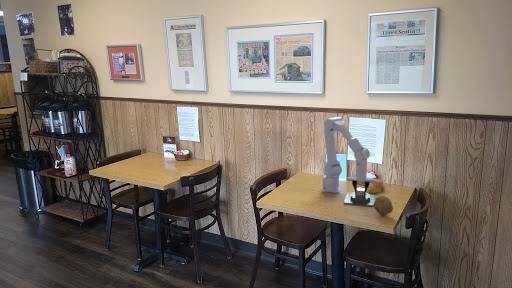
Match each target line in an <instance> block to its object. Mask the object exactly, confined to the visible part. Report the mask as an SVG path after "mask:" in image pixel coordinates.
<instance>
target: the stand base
mask: <svg viewBox="0 0 512 288" xmlns="http://www.w3.org/2000/svg"><path fill="white" fill-rule="evenodd" d="M376 199H377V195H376V194H368V193H366V195H364V197H361V196H359V197H356V194H355V191H353V192H347V193H346V195H345V198H344V202H343V205H350V206H360V207H369V208H374V202H375V200H376Z"/></svg>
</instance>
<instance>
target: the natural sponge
mask: <svg viewBox="0 0 512 288" xmlns="http://www.w3.org/2000/svg"><path fill="white" fill-rule="evenodd" d="M373 208H374V210H375V212H377V214H379V215H380V216H386V215H389V214H392V213H393V210H394V206H393V204H392V202H391V200H390V198H389V197H387V196H386V195H380V196H378V197H376V200H375V202H374V207H373Z"/></svg>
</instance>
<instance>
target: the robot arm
mask: <svg viewBox="0 0 512 288" xmlns="http://www.w3.org/2000/svg"><path fill="white" fill-rule="evenodd" d="M323 126H324V130H323V133H324V134H323V135H324V143H325V151H326V161H325V163H324V165H323V166H324V169H323V173H324V175H322V189H321V190H322V192H324V193H337V194H338V193H339V192H340V190H341V188H340V187H339V185H340V184H339V183H340V176H341V174H342V172H343V168H342V166H341V162H340V161H339V160H338V159H337V150H336V142H335V141H336V140H335V133H336V132H340V134H341V135H342V136H343V137H344V139H346V141H347V145H348V147H349V148H350V149H351V150H352V153H353V157H354V159H355V176H347V180H346V181H347V182H351V185H352V187H353V189H354V192H355V194H357V188H358V183H364V188H365V191H364V195H366V191H367V188H368V186H369V184H370V183H375V179H376V178H371V177H367V175H368V159H369V158H370V156H371V153H370V151H369V149H368V148H366V147H364V146H363V145H362V144H361V142H360V141H359V139H358V138H357V137H354V136H353V135H352V134H351V132H350V131H349V129H348V127H347V126H346V121H345V120H344V119H343V118H342V117H341V116H337V117H331V118H330V117H329V118H326V119H325V120H324V122H323Z"/></svg>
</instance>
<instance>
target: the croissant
mask: <svg viewBox="0 0 512 288" xmlns="http://www.w3.org/2000/svg"><path fill="white" fill-rule="evenodd" d="M374 179H375V183H370V184H369V186H368V188H367V191H366V193H368V194H370V195H372V194H377V193H381V192H382V190H383V187H384V183H383V181H382V180H381V179H380V178H374Z"/></svg>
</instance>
